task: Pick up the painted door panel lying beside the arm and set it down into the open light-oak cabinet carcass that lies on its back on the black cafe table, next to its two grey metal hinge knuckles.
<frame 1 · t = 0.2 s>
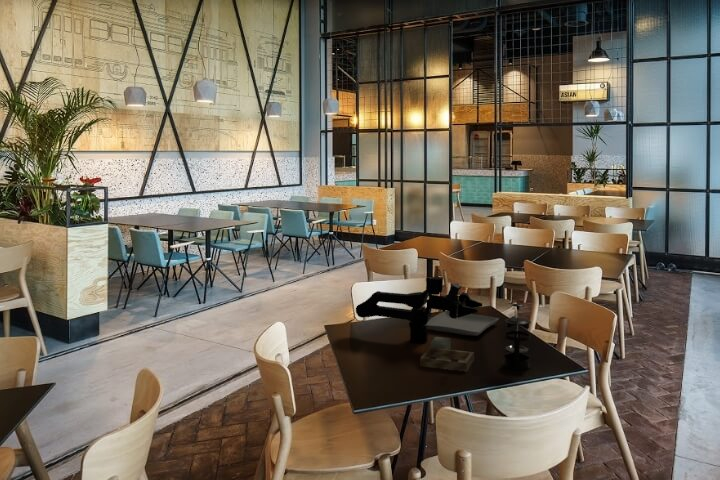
hand: (479, 307, 235), 16 cm above the table, tool horizontal, fingers open, 9 cm apart
carcass: (447, 363, 219), on the table
door panel: (440, 351, 233), on the table
square plate: (460, 328, 266), on the table
french press: (516, 365, 216), on the table
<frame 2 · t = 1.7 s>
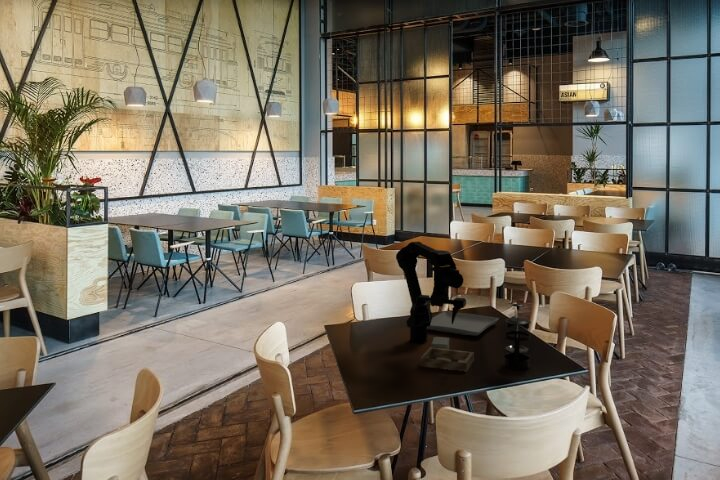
hand: (440, 322, 232), 11 cm above the table, tool pointing down, fingers open, 9 cm apart
nothing on the table moved.
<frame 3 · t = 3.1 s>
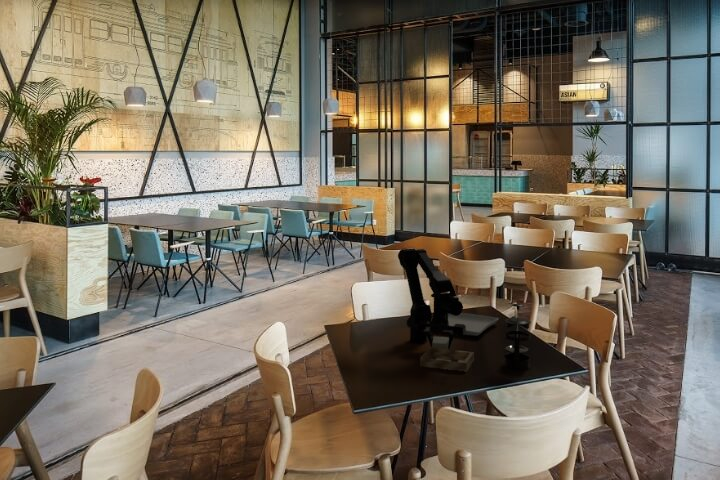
hand: (440, 348, 233), 1 cm above the table, tool pointing down, fingers closed on door panel, 6 cm apart
door panel: (440, 351, 233), on the table, touching gripper
everything else where it was.
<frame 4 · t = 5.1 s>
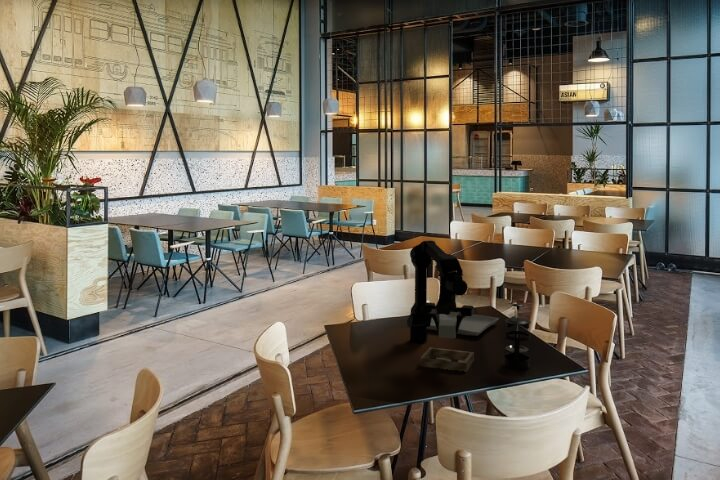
hand: (447, 331, 219), 12 cm above the table, tool pointing down, fingers closed on door panel, 6 cm apart
door panel: (447, 334, 219), point 11 cm above the table, touching gripper
everything else where it was.
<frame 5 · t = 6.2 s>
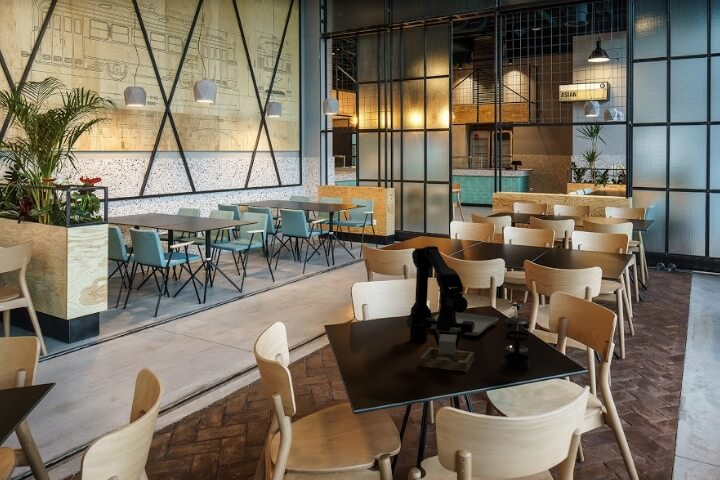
hand: (447, 347, 218), 6 cm above the table, tool pointing down, fingers closed on door panel, 6 cm apart
door panel: (447, 349, 218), point 5 cm above the table, touching gripper
everything else where it was.
when the fingers open (3 cm above the table, at t = 7.3 s): door panel drops 1 cm, resting on carcass.
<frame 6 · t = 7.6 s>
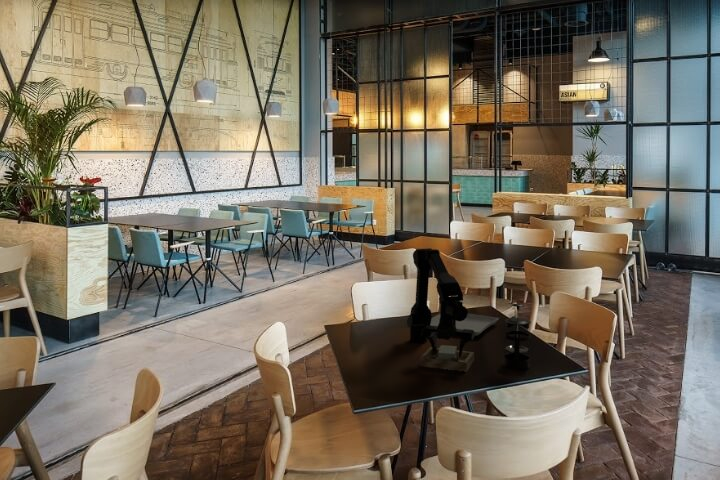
hand: (447, 355, 219), 3 cm above the table, tool pointing down, fingers open, 9 cm apart
door panel: (447, 361, 219), point 1 cm above the table, touching carcass
everything else where it was.
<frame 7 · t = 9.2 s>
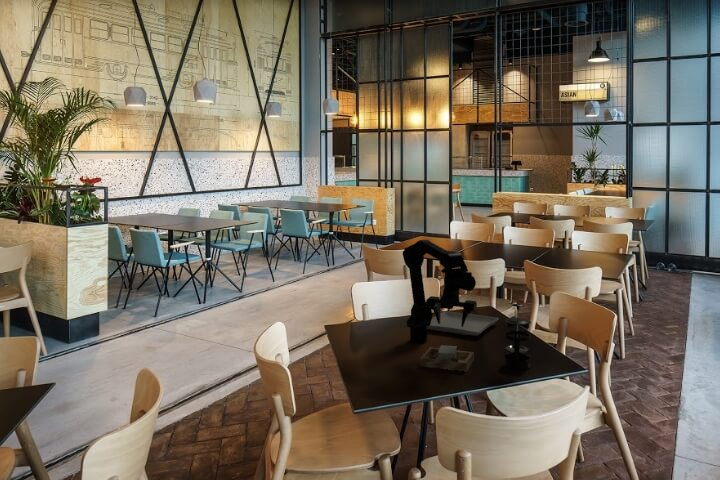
hand: (450, 325, 228), 12 cm above the table, tool pointing down, fingers open, 9 cm apart
nothing on the table moved.
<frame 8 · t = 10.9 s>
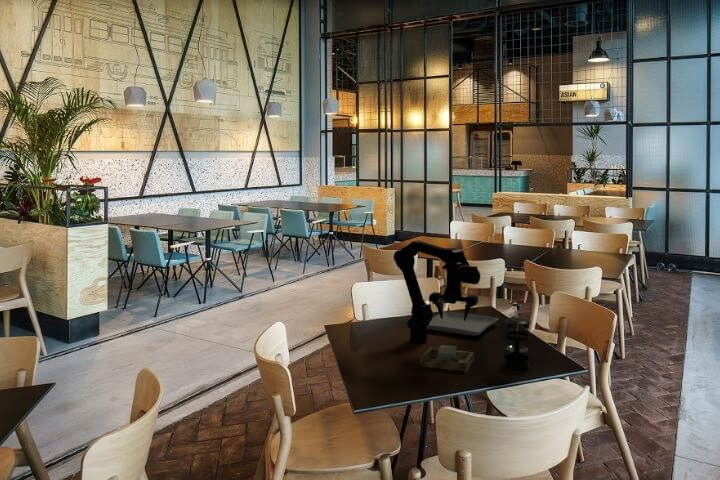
hand: (453, 319, 234), 12 cm above the table, tool pointing down, fingers open, 9 cm apart
nothing on the table moved.
at the end: door panel inside the target area on the carcass (0.0 cm from its centre), point 0.8 cm above the carcass's base; door panel tilted 0°; the gripper is holding nothing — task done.
